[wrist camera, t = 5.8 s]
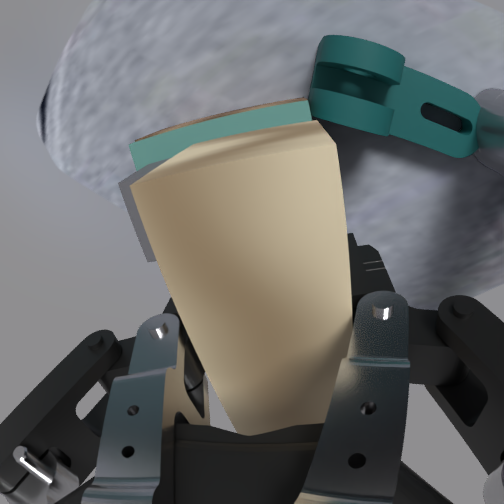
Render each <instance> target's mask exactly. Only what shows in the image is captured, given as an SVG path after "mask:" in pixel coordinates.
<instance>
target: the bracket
mask: <svg viewBox="0 0 504 504" xmlns="http://www.w3.org/2000/svg"><path fill="white" fill-rule="evenodd" d="M404 63H405V57H404V56H403V55H401V54H400V53H398V52H396V51H394V50H392V49H390V48H388V47H386V46H383V45H380V44H377V43H374V42H371V41H367V40H364V39H359V38H355V37H349V36H341V35H327V36H324V37H323V38H322V40H321V42H320V43H319V45H318V51H317V56H316V61H315V66H314V72H313V77H312V82H311V87H310V92H309V97H308V103H309V107H310V112H311V116H314V117H317V118H320V119H324V120H327V121H330V122H334V123H337V124H341V125H345V126H348V127H352V128H355V129H359V130H363V131H366V132H370V133H374V134H378V135H382V136H388V135H389V134H390V135H393V136H396V137H400V138H403V139H406V140H408V141H411V142H414V143H417V144H420V145H423V146H426V147H428V148H431V149H434V150H436V151H439V152H441V153H444V154H447V155H449V156H452V157H456V158H464V157H467V156H470V155H472V154H473V153H474V152H476V151H477V150H478V148H479V146H478V141H477V130H476V129H477V119H478V114H479V111H480V109H481V107H480V105H479V104H478V102H477V101H476V100H475V99H474V98H473V97H472V96H471V95H469V94H468V93H466V92H464V91H462V90H460V89H458V88H455V87H453V86H451V85H449V84H447V83H445V82H442V81H440V80H438V79H435V78H433V77H431V76H428V75H426V74H424V73H421V72H419V71H416V70H413V69H411V68H408V67H406V66H404ZM424 103H427V104H430V105H432V106H434V107H437V108H439V109H442V110H444V111H446V112H449V113H451V114H453V115H455V116H458V117H459V118H460V119H461V121H462V128H461V130H460V131H458V132H456V131H454V130H451V129H449V128H447V127H444V126H442V125H440V124H437V123H435V122H432V121H430V120H427V119H425V118H424V117H423V116H422V115H421V111H420V109H421V106H422V104H424Z"/></svg>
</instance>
